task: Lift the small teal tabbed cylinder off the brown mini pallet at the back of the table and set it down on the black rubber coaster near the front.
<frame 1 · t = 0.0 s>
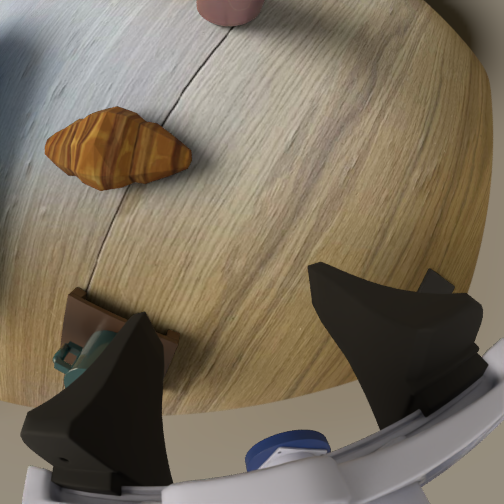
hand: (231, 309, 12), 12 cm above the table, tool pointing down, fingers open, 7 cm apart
teal tabbed cylinder: (111, 353, 22), point 2 cm above the table, touching brown mini pallet
croissant: (117, 150, 20), on the table
brown mini pallet: (117, 342, 24), on the table
beverage can: (228, 8, 18), on the table
coaster: (430, 300, 29), on the table
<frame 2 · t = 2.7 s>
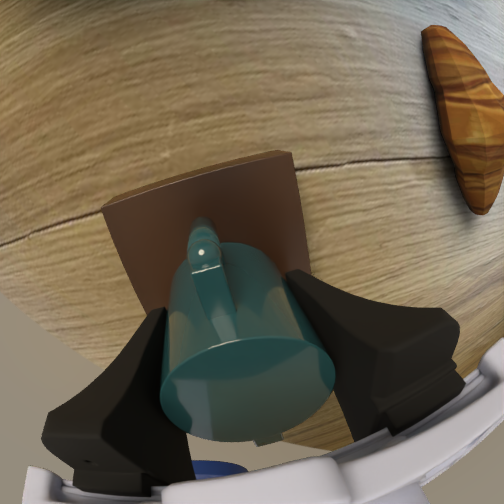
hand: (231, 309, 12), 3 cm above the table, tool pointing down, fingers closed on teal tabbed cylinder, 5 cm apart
teal tabbed cylinder: (227, 295, 13), point 2 cm above the table, touching gripper, brown mini pallet
croissant: (452, 121, 13), on the table
brown mini pallet: (223, 274, 14), on the table
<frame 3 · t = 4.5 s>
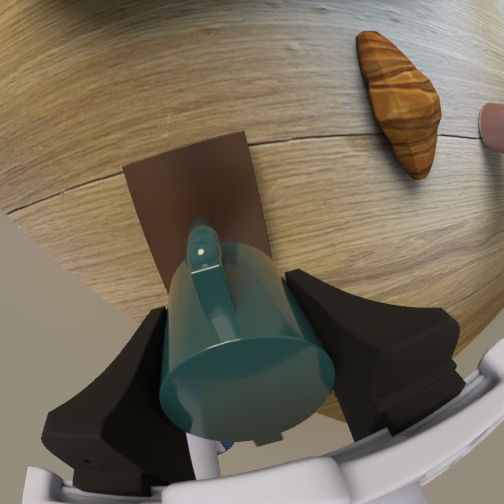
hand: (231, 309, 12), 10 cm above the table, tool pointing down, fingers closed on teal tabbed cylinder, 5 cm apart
teal tabbed cylinder: (227, 295, 13), point 9 cm above the table, touching gripper
croissant: (388, 105, 19), on the table
brown mini pallet: (203, 218, 20), on the table
beverage can: (487, 126, 21), on the table
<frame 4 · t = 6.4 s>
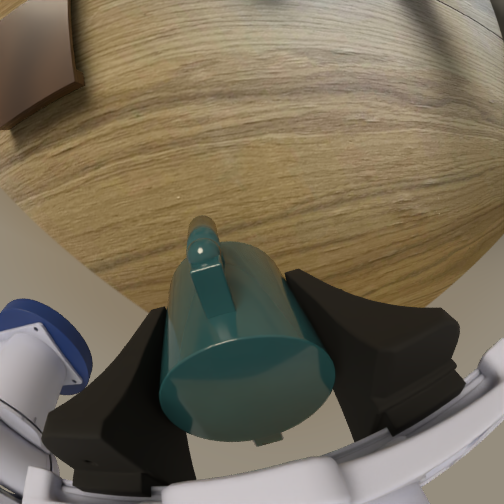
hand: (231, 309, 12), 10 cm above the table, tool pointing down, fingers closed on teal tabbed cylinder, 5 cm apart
teal tabbed cylinder: (227, 294, 13), point 9 cm above the table, touching gripper
brown mini pallet: (37, 52, 12), on the table
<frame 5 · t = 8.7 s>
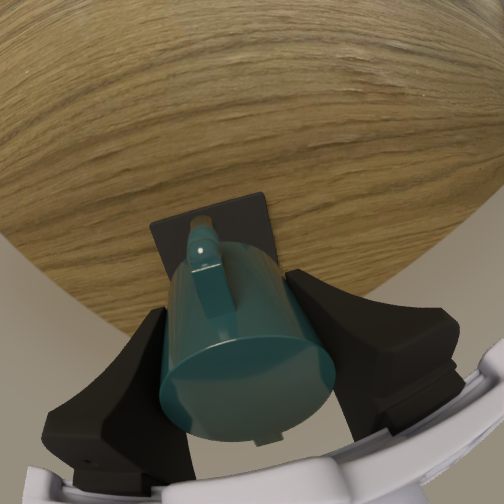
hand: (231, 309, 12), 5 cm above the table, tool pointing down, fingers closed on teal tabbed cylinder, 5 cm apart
teal tabbed cylinder: (227, 294, 12), point 4 cm above the table, touching gripper
coaster: (220, 257, 16), on the table
when the fingers open (2 cm above the table, at t = 10.2 s): teal tabbed cylinder stays where it is, resting on coaster.
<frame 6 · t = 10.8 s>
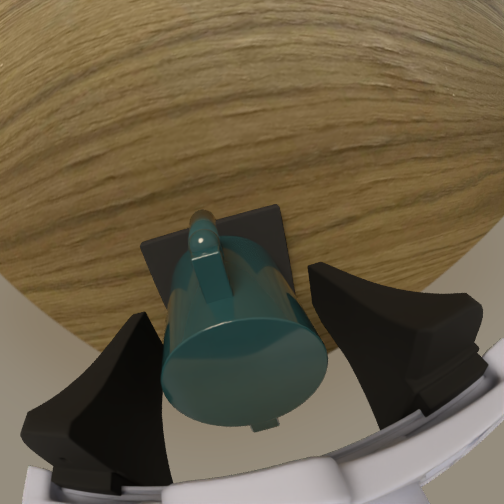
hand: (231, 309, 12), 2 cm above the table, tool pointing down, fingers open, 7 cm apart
teal tabbed cylinder: (226, 287, 13), resting on coaster
coaster: (225, 282, 14), on the table
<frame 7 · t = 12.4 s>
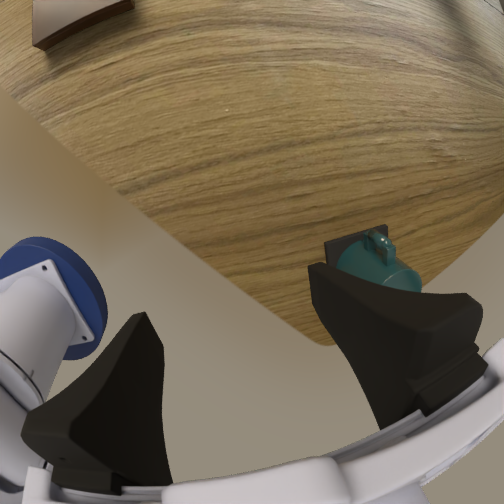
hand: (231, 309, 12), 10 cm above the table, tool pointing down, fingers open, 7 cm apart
teal tabbed cylinder: (360, 265, 24), resting on coaster
coaster: (358, 263, 25), on the table
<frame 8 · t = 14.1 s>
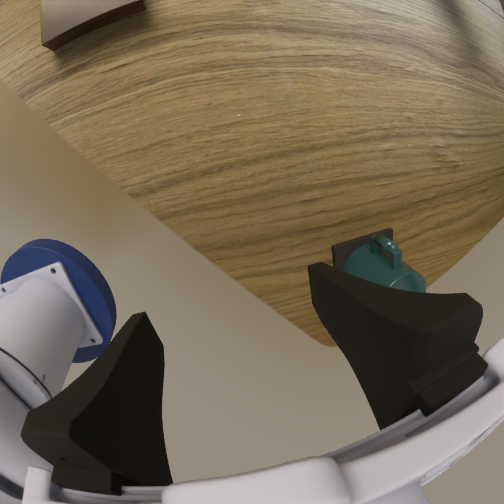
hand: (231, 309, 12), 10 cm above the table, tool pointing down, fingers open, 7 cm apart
teal tabbed cylinder: (365, 268, 24), resting on coaster
coaster: (363, 266, 25), on the table
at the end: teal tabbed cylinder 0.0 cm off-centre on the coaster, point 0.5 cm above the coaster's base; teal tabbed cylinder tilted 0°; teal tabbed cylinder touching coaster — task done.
